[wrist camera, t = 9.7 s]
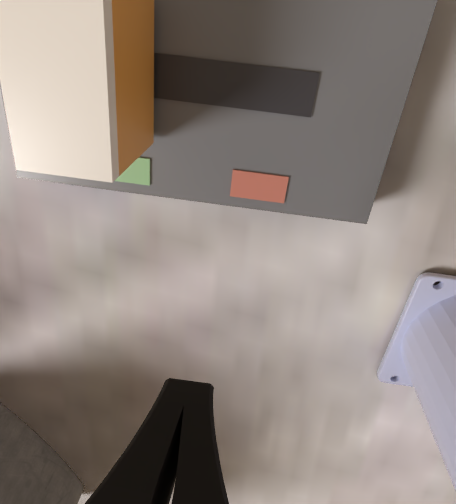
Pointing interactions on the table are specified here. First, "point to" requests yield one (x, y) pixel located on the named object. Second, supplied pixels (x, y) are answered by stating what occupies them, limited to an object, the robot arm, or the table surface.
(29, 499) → the hip flask
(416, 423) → the table surface
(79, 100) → the knob
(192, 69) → the panel
